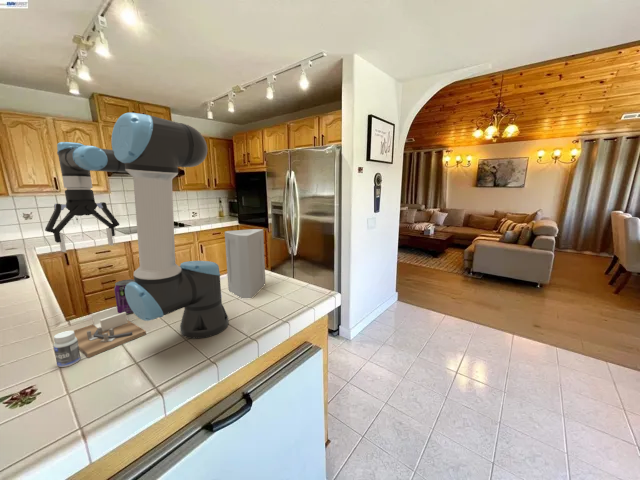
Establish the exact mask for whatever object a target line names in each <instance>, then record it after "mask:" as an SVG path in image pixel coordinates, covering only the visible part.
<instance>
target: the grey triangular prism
mask: <svg viewBox="0 0 640 480" xmlns="http://www.w3.org/2000/svg"><path fill="white" fill-rule="evenodd" d="M264 236H265V235H264V228H262V229H261V228H252V229H250V228H249V229H240V230H227V231H224V240H225V241H224V243H225V256H226V257H225V258H226V273H227V275H226V276H227V287H228V289H227V291H228V290H229V292H230V293H231V292H232V294H233V293H234V294H233V295H235V296H236V295H237V296H236V297H238V296H239V297H238V298H240V297H241V298H240V299H242V298H252V297H253V296H254V295H255V294H256V293H257V292H258V291H259V290H260V289H261V288H262V287H263V286H264V284H265V285H266V264H265V263H266V262H265V242H264V241H265V238H264ZM264 287H265V286H264ZM264 287H263V288H264ZM263 288H262V289H263ZM262 289H261V290H262ZM261 290H260V291H261ZM260 291H259V292H260ZM259 292H258V293H259ZM258 293H257V294H258ZM257 294H256V295H257ZM256 295H255V296H256ZM255 296H254V297H255ZM254 297H253V298H254ZM253 298H252V299H253Z"/></svg>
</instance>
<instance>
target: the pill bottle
mask: <svg viewBox="0 0 640 480" xmlns="http://www.w3.org/2000/svg"><path fill="white" fill-rule="evenodd" d="M53 340H54V343H53V349H54V355H55V356H54V357H55V361H56V366H57V367H59V368H65V367H66V368H67V367H69V366H72V365H75V364H76V363H78V362H79V361H80V360H81V354H80V352H81V351H80V350H79V346H78V340H77V338H76V337H75V333H74V330H65V331H62V332H59V333H56V334H55V335H54V336H53Z"/></svg>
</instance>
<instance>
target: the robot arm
mask: <svg viewBox="0 0 640 480" xmlns="http://www.w3.org/2000/svg"><path fill="white" fill-rule="evenodd" d="M56 148H57V153H56V154H57V156H58V160H59V166H60V167H59V168H60V172H61V176H62V184H63V188H65V190H64V196H65V201H66V202H65V203H64V204H63V203H62V204H61V203H54V206H53V209H54V210H53V212H52V214H51V216H50V218H49V221H48V222H47V225H46V226H45V229H44V231H45V232H48V233H53V238H54V241H55V242H56V243H59V247H60V252H63V253H66V252H67V249H66V248H67V247H66V243H65V237H64V233H63V232H62V230H63V229H64V228H65V227H66V225H67V224H68V223H69V222H70V221H71V220H72V219H73V218H74V217H76V216H77V217H81V216H90V215H92V216H93V217H95V218H97V220H99V221H100V222H101V223H102V224H104V225H105V226H106V228H105V229H106V237H107V244H108V246H114V239H113V237H115V236H116V233H115V228H116V227H118V226H120V222H119V221H118V220H117V219H116V217H115V216H114V214H112V212H111V211H110V210H109V208H108V206H107V203H106V202H103V201H101V202H97V203H96V200H95V195H94V190H93V182H92V176H91V175H92V174H91V172H95V171H96V172H107V173H108V172H109V173H110V172H111V173H113V172H114V173H128V174H129V175H130V176H131V177H132V179H133V191H134V206H135V207H134V208H135V219H136V221H135V222H136V231H137V235H136V236H137V245H138V246H137V247H138V259H139V261H138V263H139V266H138V267H137V268H136V269H135V270H134V271H133V280H134V282H130V283H128V284H127V285H126V287H125V296H126V299H127V302H128V304H129V306H130V308H131V310H132V311H133V314H134V315H135V316H136V317H137V318H138V319H140V320H141V321H145V322H149V321H153V320H155V319H158V318H163V317H164V316H167V315H169V314H171V313H174V312H176V311H179V310H181V309H184V311H183V313H182V317H181V318H182V319H181V322H180V325H179V328H180V334H181V335H182V336H183V337H184V338H188V339H203V338H208V337H212V336H214V335H217V334H219V333H221V332H223V331H224V330H225V329H227V328H228V327H229V316H228V314H227V312H226V309H225V306H224V305H223V301H222V289H221V273H220V266H219V265H218V263H216V262H213V261H210V260H209V261H208V260H191V261H184V262H181V263H180V266H179V265H178V264H177V263H176V247H175V243H176V242H175V223H174V221H175V219H174V194H173V179H174V178H175V177H177V176H178V174H179V168H193V167H197V166H199V165H200V164H202V163H203V162H204V161H205V159H206V158H207V155H208V145H207V141H206V139H205V137H204V136H203V134H202V133H201V132H199V130H197V129H196V128H195V127H193V126H191V125H189V124H186V123H181V122H176V121H172V120H170V119H169V120H168V119H166V118H163V117H161V118H160V117H157V116H154V115H149V114H145V113H136V112H126V113H123V114H121V115H120V116H119V117H118V118H117V120H116V122H114V125H113V128H112V132H111V148H112V149H109V148H100V147H98V146H95V145H94V146H93V145H86V144H85V145H84V144H83V143H80V142H69V141H60V142H58V143H56ZM97 207H98V208H99V209H101V210H102V212H103V213H104V215H105V216H106V217H107V218H108V219H106V218H105V217H104V216H102V215H101V214H100V213H99V212H98V211H96V209H97ZM65 209H67V210H68V212H67V213H66V215H65V216H64V218H62V219H61V221H59V223H58V224H57V225H56V223H57V221H58V218H59V217H60V215H61V212H62V211H64V210H65ZM55 225H56V226H55ZM54 227H55V228H54Z"/></svg>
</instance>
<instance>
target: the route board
mask: <svg viewBox="0 0 640 480" xmlns="http://www.w3.org/2000/svg"><path fill="white" fill-rule="evenodd" d="M127 322H128V323H127V324H124V325H122V326H119V327H116V328H113V329H109V330H108V331H105V332H102V328H101V327H99V328H97V327H95V326H94V325H93V323H92V324H90V325H87V326H83V327H80V328H77V329H74V330H73V331H74V333H75V337H76V338H77V340H78V346H79V352H81V353H82V354H84V355H85V356H86V358H88V359H89V358H92V357H94V356H97V355H99V354H100V353H104V352H106V351H108V350H111V349H114V348H116V347H119V346H121V345H123V344H126V343H129V342H131V341H133V340H136V339H138V338H141V337H143V336H145V335H147V331H146V330H145V329H143V328H142V327H140V326H138V325H137V324H135V323H133V322H131V321H130V320H128V319H127ZM97 329H98V335H103V337H104V339H98V338H97V337H94V336H93V335H94V333H95V332H96V330H97ZM129 332H132V335H131V336H126V337H121V338H116V339H115V338H111V339H109V337H108V336H113V335H118V334H123V333H129Z"/></svg>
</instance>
